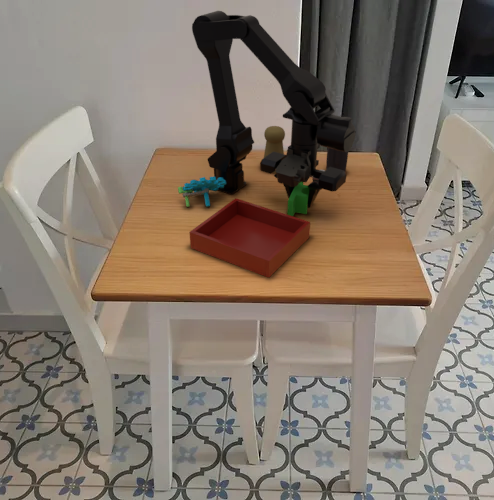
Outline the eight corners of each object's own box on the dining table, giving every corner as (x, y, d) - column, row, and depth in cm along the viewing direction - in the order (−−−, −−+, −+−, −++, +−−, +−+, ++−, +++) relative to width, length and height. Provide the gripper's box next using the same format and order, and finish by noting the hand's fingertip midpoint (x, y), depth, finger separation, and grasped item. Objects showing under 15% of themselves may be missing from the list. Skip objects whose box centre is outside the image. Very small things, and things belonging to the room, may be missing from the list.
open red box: (190, 248, 112) (189, 231, 109) (236, 213, 123) (235, 198, 121) (268, 277, 104) (269, 260, 102) (309, 237, 116) (310, 221, 114)
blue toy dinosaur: (226, 184, 131) (223, 170, 121) (230, 207, 130) (228, 196, 120) (180, 192, 131) (174, 179, 121) (184, 215, 130) (178, 205, 120)
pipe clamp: (303, 221, 121) (304, 203, 118) (287, 218, 122) (287, 200, 119) (313, 197, 130) (314, 179, 127) (298, 194, 131) (298, 177, 128)
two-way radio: (346, 170, 143) (352, 114, 134) (346, 178, 139) (352, 121, 131) (325, 168, 143) (329, 113, 135) (324, 176, 139) (329, 120, 131)
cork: (285, 173, 140) (287, 132, 134) (261, 172, 140) (262, 132, 134) (285, 163, 146) (286, 123, 139) (262, 162, 145) (263, 122, 139)
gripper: (246, 143, 114) (246, 208, 123) (327, 165, 107) (321, 232, 115) (273, 126, 122) (272, 188, 131) (350, 145, 115) (343, 210, 123)
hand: (300, 204), depth 125 cm, fingers closed on pipe clamp, 4 cm apart
